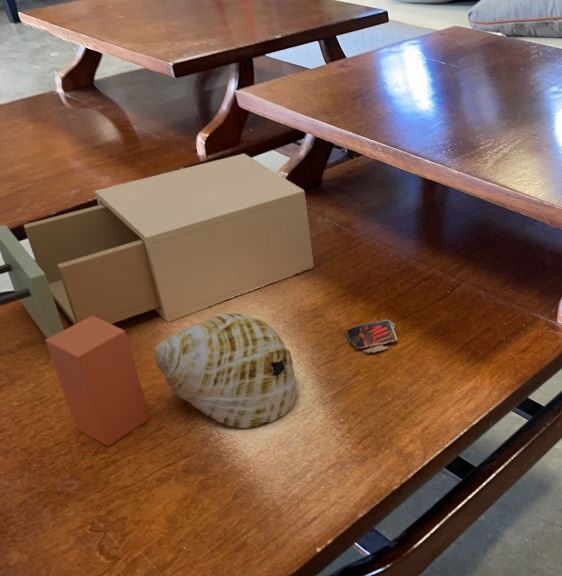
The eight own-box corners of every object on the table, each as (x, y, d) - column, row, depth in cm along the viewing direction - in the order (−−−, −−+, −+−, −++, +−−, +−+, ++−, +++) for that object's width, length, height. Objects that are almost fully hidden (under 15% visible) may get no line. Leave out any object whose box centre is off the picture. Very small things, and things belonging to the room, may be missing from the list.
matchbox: (341, 333, 74) (340, 329, 74) (388, 318, 77) (387, 314, 77) (362, 358, 71) (361, 354, 71) (410, 340, 74) (410, 336, 73)
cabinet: (167, 322, 75) (145, 237, 70) (116, 270, 83) (94, 190, 78) (314, 268, 85) (304, 190, 80) (256, 226, 93) (244, 153, 88)
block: (108, 447, 60) (77, 356, 56) (76, 429, 62) (44, 339, 57) (150, 418, 63) (125, 330, 59) (119, 402, 65) (92, 314, 60)
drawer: (2, 370, 67) (-29, 295, 63) (-33, 311, 74) (-62, 241, 70) (217, 293, 79) (204, 225, 74) (168, 249, 86) (153, 186, 82)
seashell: (321, 403, 64) (250, 333, 58) (224, 469, 64) (141, 405, 57) (296, 335, 72) (231, 265, 65) (208, 392, 71) (133, 328, 64)
